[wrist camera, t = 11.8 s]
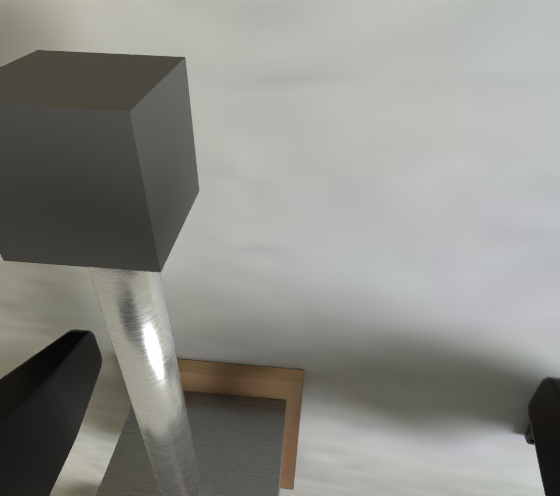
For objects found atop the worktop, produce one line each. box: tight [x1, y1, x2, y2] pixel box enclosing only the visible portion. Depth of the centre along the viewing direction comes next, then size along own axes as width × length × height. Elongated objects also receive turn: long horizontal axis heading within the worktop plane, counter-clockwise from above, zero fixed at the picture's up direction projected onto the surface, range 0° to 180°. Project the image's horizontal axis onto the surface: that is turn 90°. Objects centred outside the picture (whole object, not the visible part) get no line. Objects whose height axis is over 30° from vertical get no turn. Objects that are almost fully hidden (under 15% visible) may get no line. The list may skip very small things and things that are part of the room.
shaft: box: [0, 50, 200, 496], centre depth 16 cm, size 4×20×4 cm, turn 179°
